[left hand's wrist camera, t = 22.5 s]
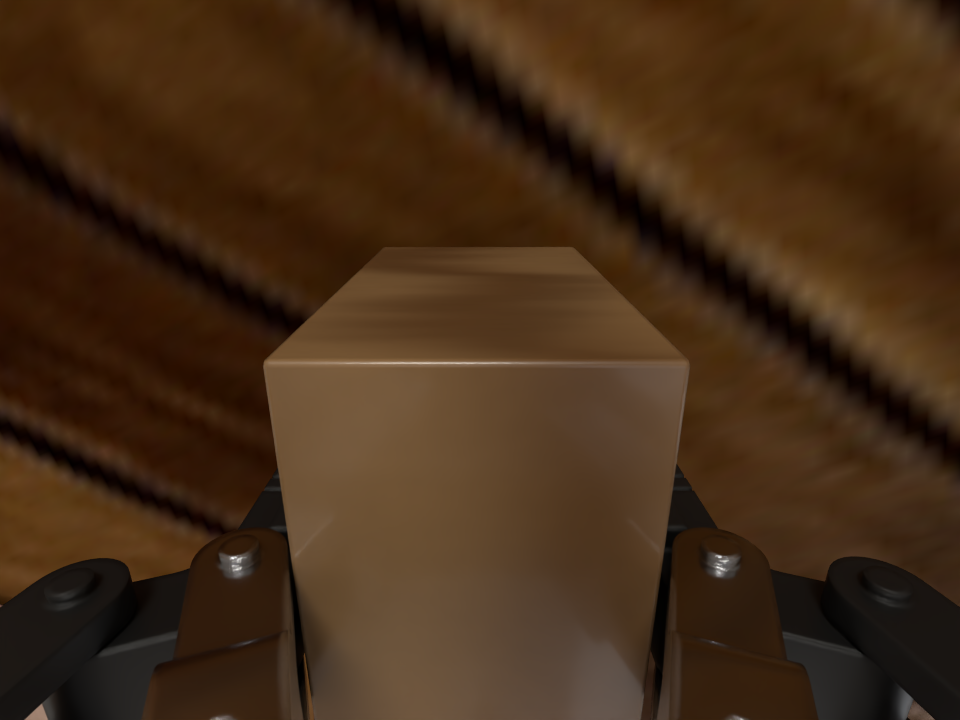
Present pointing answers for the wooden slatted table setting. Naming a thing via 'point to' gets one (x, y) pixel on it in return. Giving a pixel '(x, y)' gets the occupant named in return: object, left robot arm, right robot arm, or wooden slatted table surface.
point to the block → (477, 486)
